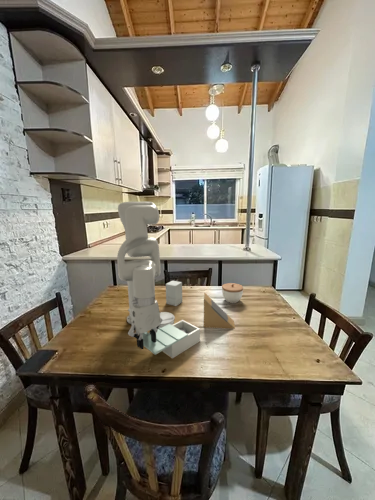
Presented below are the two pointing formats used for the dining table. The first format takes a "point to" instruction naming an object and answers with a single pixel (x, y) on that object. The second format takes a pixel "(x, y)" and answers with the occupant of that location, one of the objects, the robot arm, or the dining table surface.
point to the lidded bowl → (232, 292)
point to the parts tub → (187, 341)
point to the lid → (163, 338)
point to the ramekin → (166, 319)
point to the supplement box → (174, 293)
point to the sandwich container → (215, 315)
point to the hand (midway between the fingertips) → (146, 343)
